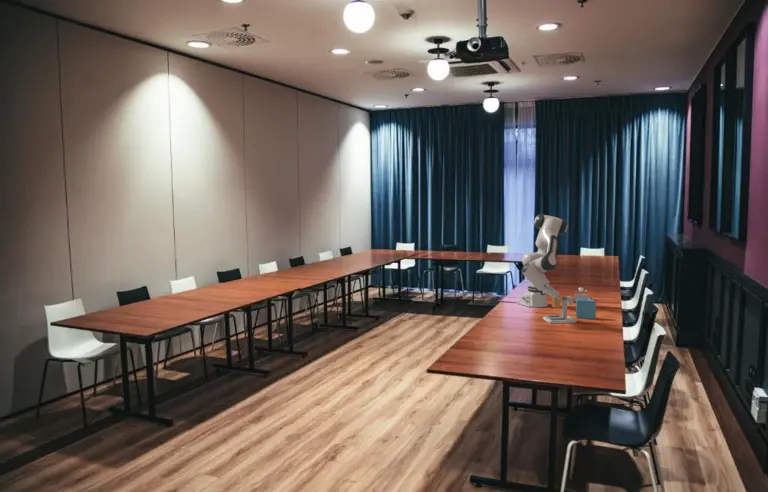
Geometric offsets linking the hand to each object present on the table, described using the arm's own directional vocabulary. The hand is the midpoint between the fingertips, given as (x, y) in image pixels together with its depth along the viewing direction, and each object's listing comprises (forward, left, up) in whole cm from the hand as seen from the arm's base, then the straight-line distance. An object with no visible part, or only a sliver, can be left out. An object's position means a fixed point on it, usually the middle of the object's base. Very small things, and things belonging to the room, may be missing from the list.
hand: (557, 298), depth 355 cm
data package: (+5, +22, -15) cm, 27 cm away
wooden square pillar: (0, -1, -5) cm, 5 cm away
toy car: (-31, +66, -15) cm, 75 cm away
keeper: (0, +1, -14) cm, 14 cm away
